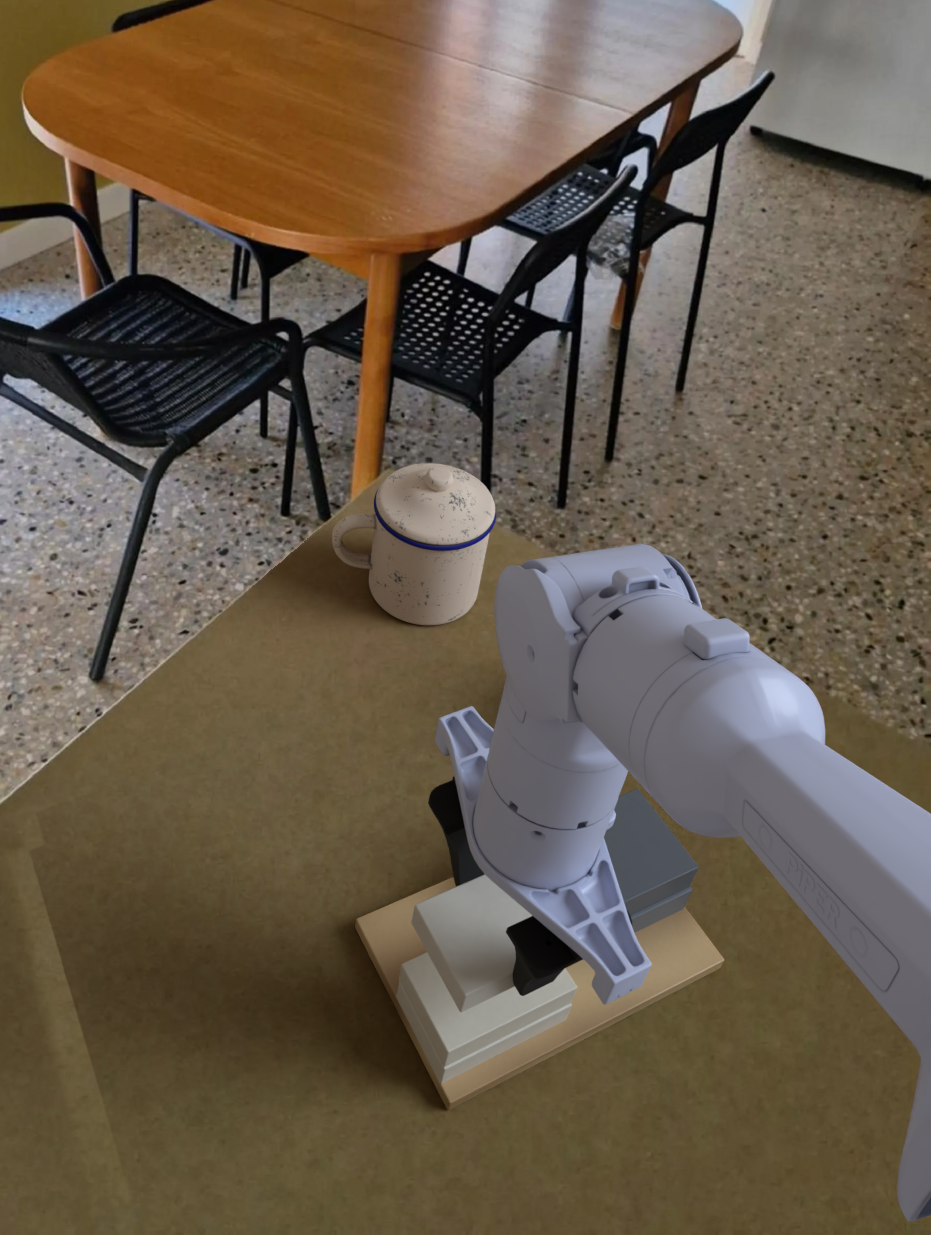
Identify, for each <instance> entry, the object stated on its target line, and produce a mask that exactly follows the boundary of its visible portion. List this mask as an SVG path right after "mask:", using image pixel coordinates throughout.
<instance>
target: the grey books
mask: <svg viewBox="0 0 931 1235" xmlns="http://www.w3.org/2000/svg"><path fill="white" fill-rule="evenodd" d="M614 811H615V813H616V817H615V821H614V823H613V826H612V827H610V828H609V829H607V830H606V833H605V835H604V840H605V843H606V846H607V849H608V853H609V856H610V859H611V862H612V865H613V869H614V872H615V875H616V878H617V881H618V884H619V888H620V891H621V894H622V897H623V900H624V904H625V907H626V909H627V910H628V912H629V914H630V916H631V919H632V928H633V931H634V933H635V932H637V931H639V930H641V929H643V928H645V927H647V926H649V925H652V924H654V923H656V922H658V921H660V920H662V919H664V918H666V917H668V916H670V915H672V914H674V913H676V912H678V911H680V910H682V909H684V907H685V908H686V905H687V902H688V900H689V898H690V896H691V894H692V892H693V888H692V886H691V885H692V883H693V881H694V879H695V876H696V874H697V873H698V870H699V868H700V866H699V865H698V863H697V862H696V861H695V860H694V858H693V857H692V856H691V854H690V853H689V852H688V850H687V849H686V848H685V847H684V845H683V844H682V842H680V840H679V839H678V838H677V837H676V835H675V834H674V832H673V831H672V830H671V828H669V826H668V824H666V823H665V821H664V820H663V819H662V817H661V816H660V815H659V813H658V812H657V811H656V810H655V808H654V807H653V806H652V805H651V803H650V802H649V801H648V799H647V798H646V797H645V795H643V793H642V792H641V790H640V789H639V788H635V789H632V790H630V791H628V792H626V793H623V794H620V795H619V797H618V801H617V803H616V806H615V809H614Z"/></svg>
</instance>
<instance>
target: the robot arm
mask: <svg viewBox="0 0 931 1235" xmlns="http://www.w3.org/2000/svg"><path fill="white" fill-rule="evenodd" d="M493 603H494V605H493V609H494V610H493V612H494V614H493V615H494V616H493V617H494V630H495V637H496V642H497V648H498V652H499V656H500V660H501V664H502V668H503V671H504V673H505V676H506V677H505V681H504V685H503V690H502V693H501V698H500V699H501V700H500V702H499V707H498V710H497V715H496V719H495V724H494V728H493V727H492V726H491V725H489V723H488V722H486V720H485V719H483V717H481V715H480V714H479V712H478V711H477V710H476V708H475V707H474V706H472V705H470V706H467V707H463V708H462V709H459V710H456V711H453V712H451V713H449V714H448V713H447V714H446V715H442V716H440V717H438V720H437V724H436V729H435V730H436V732H435V737H434V744H435V746H436V747H437V748H438V750H439V751H440V753H441V754H442V755H443V756H446V757H448V756H449V758H450V761H451V767H452V771H453V772H452V773H453V776H452V779H451V780H449V781H446V782H444V783H441V784H439V785H437V786H435V787H434V788H433V789H432V790H431V791H430V794H429V796H428V801H427V804H428V806H429V808H430V810H431V812H432V813H433V816H434V817H435V819H436V820H437V822H438V824H440V828H441V829H442V832H443V834H444V837H445V840H446V844H447V848H448V852H449V859H450V864H451V869H452V877H454V881H455V885H456V887H457V886H459V885H461V884H464V883H466V882H468V881H471V880H473V879H475V878H477V877H480V876H482V875H484V874H485V875H486V876H487V877H488V878H489V879H490V880H491V881H492V882H494V883H495V884H496V885H497V886H498V887H500V888H501V889H502V890H503V891H504V892H505V893H507V894H508V895H509V896H510V897H511V898H512V899H514V900H515V901H516V902H517V903H518V904H520V905H521V906H522V907H523V908H524V909H525V910H527V911H528V912H529V913H530V914H531V915H532V916H531V917H529V918H527V919H525V920H522V921H520V922H518V923H516V924H514V925H512V926H509V927H508V928H507V930H506V933H507V935H508V937H509V938H510V940H511V941H512V943H513V945H514V946H515V951H516V961H515V965H514V969H513V983H514V986H515V988H516V989H517V991H518V993H519V994H520V995H521V996H525V995H527V994H529V993H531V992H533V991H535V990H537V989H539V988H541V987H543V986H545V985H547V984H549V983H551V982H553V981H554V980H555V979H556V978H557V976H558V975H559V974H560V973H561V972H562V971H563V970H564V969H565V968H567V967H569V966H571V965H573V964H575V963H577V962H579V961H581V960H583V959H584V960H585V961H586V962H587V963H588V964H589V965H590V966H591V967H592V969H593V970H594V971H595V976H594V978H593V980H592V987H593V989H594V990H595V992H596V994H597V995H598V997H599V998H600V1000H601V1001H602V1003H603V1004H604V1005H606V1004H608V1003H610V1002H612V1001H614V1000H616V999H618V998H620V997H622V996H624V995H626V994H628V993H630V992H632V991H634V990H636V989H637V988H639V987H641V986H642V984H643V982H644V980H645V978H646V976H647V974H648V971H649V969H650V967H651V965H652V964H651V962H650V960H649V959H648V957H647V956H646V954H645V952H644V951H643V949H642V948H641V946H640V944H639V942H638V940H637V938H636V936H635V933H634V931H633V928H632V919H631V916H630V914H629V912H628V910H627V909H626V907H625V904H624V900H623V897H622V894H621V891H620V888H619V884H618V881H617V878H616V875H615V872H614V869H613V865H612V862H611V859H610V856H609V853H608V849H607V846H606V843H605V840H604V835H605V833H606V830H607V829H609V828H610V827H612V826H613V823H614V821H615V817H616V813H615V811H614V809H615V806H616V803H617V801H618V797H619V796H621V792H622V789H623V786H624V784H625V781H626V778H627V775H628V773H629V774H630V775H631V776H632V777H633V778H634V779H635V780H636V781H637V783H638V784H640V786H641V787H642V788H643V789H644V790H645V791H646V792H647V793H648V795H650V796H651V797H652V798H653V800H654V801H655V802H656V803H657V804H658V805H659V806H660V807H661V808H662V810H664V812H665V813H667V815H668V816H669V817H670V818H671V819H672V820H673V821H674V822H675V823H676V824H678V825H679V826H680V827H682V828H683V829H685V831H688V832H691V833H692V834H696V835H697V836H698V835H699V836H701V837H705V838H706V837H707V838H712V839H728V838H738V837H741V838H742V840H743V841H744V842H745V843H746V845H747V846H748V847H749V848H750V849H751V851H752V852H753V853H754V854H755V855H756V857H757V858H758V859H759V860H760V861H761V862H762V864H763V865H764V867H766V869H767V870H768V872H770V874H772V876H773V877H774V878H775V880H776V881H777V883H779V884H780V885H781V887H782V888H783V889H784V890H785V891H786V893H787V894H788V895H789V896H790V898H791V899H792V900H793V902H794V903H795V904H796V905H797V907H799V909H800V910H801V911H802V912H803V914H804V915H805V916H806V917H807V919H809V921H810V922H811V923H812V924H813V926H814V927H815V928H816V929H817V931H819V933H820V934H821V935H822V936H823V938H824V939H825V940H826V941H827V942H828V944H829V945H830V946H831V948H832V949H833V950H834V951H835V952H836V953H837V955H838V956H839V957H840V958H841V959H842V961H843V962H844V963H845V964H846V965H847V967H848V968H849V969H850V970H851V972H853V974H854V975H855V976H856V978H857V979H858V980H859V981H860V983H862V985H863V986H864V988H866V990H867V991H868V992H869V993H870V994H871V996H872V997H873V998H874V999H875V1000H876V1001H877V1003H878V1004H879V1005H880V1007H882V1009H883V1010H884V1011H885V1013H886V1014H887V1015H888V1016H889V1018H891V1020H892V1021H893V1022H894V1023H895V1024H896V1026H897V1027H898V1028H899V1029H900V1031H901V1032H902V1033H903V1034H904V1035H905V1037H906V1038H907V1040H909V1042H911V1044H912V1045H913V1047H914V1048H915V1050H916V1052H917V1053H918V1055H919V1058H920V1063H919V1069H918V1075H917V1080H916V1085H915V1091H914V1097H913V1102H912V1106H911V1112H910V1116H909V1120H908V1121H909V1122H908V1126H907V1130H906V1134H905V1139H904V1143H903V1148H902V1152H901V1157H900V1159H899V1160H900V1161H899V1166H898V1173H897V1183H896V1197H897V1201H898V1205H899V1208H900V1211H901V1212H902V1214H903V1216H904V1218H905V1220H906V1222H908V1223H911V1222H915V1221H918V1220H920V1219H924V1218H926V1217H929V1216H931V813H930V812H929V811H927V810H926V809H925V808H923V807H921V806H920V805H918V804H916V803H915V802H913V801H912V800H910V799H909V798H908V797H906V796H904V795H903V794H901V793H899V792H898V791H896V790H895V789H893V788H892V787H890V785H887V784H886V783H884V782H883V781H882V780H880V779H878V778H876V777H875V776H874V775H872V774H870V773H869V772H867V771H866V770H864V769H863V768H862V767H859V766H858V765H856V764H855V763H854V762H852V761H851V760H849V759H847V758H846V757H844V756H843V755H842V754H840V753H838V752H837V751H835V750H833V748H831V747H829V746H827V745H826V725H825V716H824V713H823V709H822V706H821V705H820V702H819V700H818V698H817V696H816V695H815V693H814V692H813V690H812V689H811V688H810V686H808V685H807V684H806V683H805V681H803V680H802V679H801V678H800V677H798V676H797V675H795V674H794V673H793V672H792V671H790V670H789V669H787V668H786V667H784V666H783V665H781V664H780V663H778V662H777V661H775V660H774V659H773V658H772V657H770V656H769V655H767V654H766V653H764V651H762V650H760V649H759V648H757V647H756V646H754V645H753V644H752V643H751V642H750V641H751V639H750V637H751V636H750V634H749V632H748V631H746V630H745V629H744V628H742V627H741V626H739V625H738V624H737V623H735V622H734V621H732V619H729V618H728V617H727V618H725V617H724V618H716V617H714V615H711V614H710V613H708V612H707V611H706V610H705V609H704V608H703V606H702V603H701V599H700V596H699V593H698V590H697V588H696V585H695V583H694V581H693V579H692V577H691V576H690V574H689V573H688V572H687V570H686V568H685V567H684V566H683V565H682V563H680V562H679V561H678V560H677V559H676V558H674V557H673V556H671V555H669V554H667V553H661V552H660V551H659V550H658V549H657V548H655V547H653V546H652V545H650V544H646V543H636V544H630V545H623V546H616V547H608V548H602V549H595V550H587V551H581V552H575V553H568V554H562V555H554V556H548V557H540V558H534V559H533V558H532V559H528V560H526V561H523V562H522V564H520V565H518V564H509V565H507V566H506V567H504V569H503V570H502V571H501V573H500V575H499V577H498V580H497V582H496V587H495V593H494V602H493ZM929 1235H931V1233H930V1234H929Z"/></svg>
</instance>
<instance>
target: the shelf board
mask: <svg viewBox="0 0 931 1235" xmlns="http://www.w3.org/2000/svg"><path fill="white" fill-rule="evenodd" d="M454 887H456V885H455V881H454V876H452V877H450V878H447V879H445V880H442V881H441V882H437V883H436V884H433V885H432V886H429V887H427V888H424V889H422V890H420V891H417V892H415V893H413V894H411V895H408V896H405V897H403V898H401V899H399V900H397V901H394V902H392V903H390V904H387V905H384V906H383V907H380V908H378V909H376V910H373V911H371V912H368V913H367V914H364V915H362V916H360V917H357V918H356V919H355V925H354V928H355V930H356V933H357V934H358V936H359V938H360V940H361V943H362V944H363V946H364V948H365V950H366V953H367V954H368V956H369V959H370V960H371V962H372V964H373V966H374V968H375V970H376V972H377V974H378V976H379V978H380V980H381V982H382V984H383V985H384V988H385V990H386V992H387V994H388V996H389V997H390V999H391V1001H392V1003H393V1006H394V1007H395V1009H396V1011H397V1013H398V1016H399V1018H400V1020H401V1021H402V1024H403V1026H404V1027H405V1030H406V1032H407V1033H408V1036H409V1037H410V1040H411V1041H412V1043H413V1045H414V1047H415V1049H416V1051H417V1053H418V1055H419V1057H420V1059H421V1061H422V1063H423V1065H424V1067H425V1069H426V1071H427V1072H428V1075H429V1077H430V1079H431V1081H432V1082H433V1084H434V1087H435V1089H436V1090H437V1091H436V1092H438V1095H439V1097H440V1099H441V1100H442V1102H443V1105H444V1106H445V1108H446V1110H447V1111H451V1110H452V1109H454V1108H456V1107H458V1106H460V1105H463V1104H464V1103H466V1102H468V1101H469V1100H472V1099H474V1098H475V1097H477V1096H479V1095H481V1094H482V1093H485V1092H487V1091H489V1090H490V1089H492V1088H494V1087H496V1086H498V1085H500V1084H503V1083H504V1082H506V1081H508V1080H509V1079H511V1078H513V1077H515V1076H518V1075H519V1074H521V1073H524V1072H525V1071H526V1070H529V1069H531V1068H533V1067H534V1066H536V1065H538V1064H540V1063H542V1062H544V1061H546V1060H547V1059H550V1058H552V1057H554V1056H556V1055H557V1054H559V1053H561V1052H563V1051H565V1050H567V1049H569V1048H570V1047H572V1046H574V1045H576V1044H578V1043H580V1042H582V1041H584V1040H587V1039H588V1038H590V1037H591V1036H593V1035H595V1034H597V1033H599V1032H601V1031H603V1030H605V1029H607V1028H609V1027H611V1026H613V1025H614V1024H616V1023H618V1022H620V1021H622V1020H624V1019H627V1018H628V1017H630V1016H632V1015H634V1014H636V1013H638V1012H639V1011H642V1010H643V1009H645V1008H647V1007H649V1006H651V1005H653V1004H655V1003H656V1002H659V1001H661V1000H662V999H664V998H666V997H669V996H671V995H672V994H673V993H676V992H678V991H680V990H681V989H683V988H685V987H687V986H689V985H691V984H692V983H694V982H695V983H696V981H698V980H700V979H702V978H704V977H706V976H708V975H710V974H712V973H713V972H715V971H718V970H719V969H721V968H722V966H723V964H724V962H725V958H724V957H723V956H722V954H721V953H720V952H719V950H718V949H717V948H716V946H715V945H714V943H713V942H712V941H711V939H710V938H709V937H708V936H707V934H706V933H705V932H704V930H703V928H702V927H701V926H700V925H699V923H698V922H697V921H696V920H695V918H694V917H693V916H692V914H691V913H690V911H689V910H688V908H686V906H685V907H684V909H682V910H680V911H678V912H676V913H674V914H672V915H670V916H668V917H666V918H664V919H662V920H660V921H658V922H656V923H654V924H652V925H649V926H647V927H645V928H643V929H641V930H639V931H637V932H635V936H636V938H637V940H638V942H639V944H640V946H641V948H642V949H643V951H644V952H645V954H646V956H647V957H648V959H649V960H650V962H651V964H652V965H651V967H650V969H649V971H648V974H647V976H646V978H645V980H644V982H643V984H642V986H641V987H639V988H637V989H636V990H634V991H632V992H630V993H628V994H626V995H624V996H622V997H620V998H618V999H616V1000H614V1001H612V1002H610V1003H608V1004H606V1005H604V1004H603V1003H602V1001H601V1000H600V998H599V997H598V995H597V994H596V992H595V990H594V989H593V987H592V980H593V978H594V976H595V971H594V970H593V969H592V967H591V966H590V965H589V964H588V963H587V962H586V961H585V960H584V959H583V960H581V961H579V962H577V963H575V964H573V965H571V966H569V967H567V968H565V969H566V970H567V972H568V973H569V975H570V976H571V978H572V980H573V981H574V983H575V984H576V986H577V990H576V992H575V994H574V997H573V999H572V1002H571V1004H572V1006H571V1009H570V1011H569V1014H568V1016H567V1019H566V1020H565V1021H563V1022H561V1023H559V1024H557V1025H555V1026H553V1027H551V1028H549V1029H548V1030H546V1031H544V1032H542V1033H540V1034H538V1035H536V1036H534V1037H532V1038H530V1039H528V1040H526V1041H524V1042H522V1043H520V1044H518V1045H516V1046H514V1047H512V1048H510V1049H508V1050H506V1051H505V1052H503V1053H501V1054H499V1055H497V1056H495V1057H493V1058H491V1059H489V1060H487V1061H485V1062H483V1063H481V1064H479V1065H477V1066H475V1067H473V1068H471V1069H469V1070H467V1071H465V1072H464V1073H462V1074H460V1075H458V1076H456V1077H454V1078H452V1079H450V1080H448V1081H446V1082H444V1083H442V1084H440V1082H439V1080H438V1078H437V1076H436V1074H435V1073H434V1071H433V1069H432V1067H431V1065H430V1063H429V1061H428V1059H427V1057H426V1055H425V1053H424V1051H423V1049H422V1047H421V1045H420V1043H419V1041H418V1039H417V1037H416V1035H415V1033H414V1031H413V1029H412V1027H411V1025H410V1023H409V1021H408V1020H407V1018H406V1016H405V1014H404V1012H403V1010H402V1008H401V1006H400V1004H399V1002H398V1000H397V998H396V995H397V990H398V985H399V975H400V970H401V965H402V964H403V963H405V962H407V961H409V960H411V959H413V958H416V957H418V956H420V955H422V954H424V953H427V951H426V949H425V947H424V945H423V943H422V942H421V940H420V938H419V936H418V934H417V932H416V931H415V929H414V927H413V925H412V923H411V922H412V917H413V911H414V906H415V905H416V904H418V903H420V902H422V901H425V900H427V899H429V898H432V897H434V896H436V895H438V894H441V893H443V892H445V891H448V890H450V889H452V888H454Z"/></svg>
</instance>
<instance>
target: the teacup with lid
mask: <svg viewBox="0 0 931 1235" xmlns="http://www.w3.org/2000/svg"><path fill="white" fill-rule="evenodd" d="M496 507H497V506H496V504H495V500H494V498H493V496H492V494H491V491H490V490H489V489H488V487H487V486H486V485H485V484H484V483H483V482H482V481H481V480H479V479H478V478H477V477H475V476H474V475H472V474H471V473H469V472H468V471H465V470H463V469H461V468H458V467H455V466H453V465H448V464H443V463H433V462H424V463H422V462H421V463H415V464H410V465H407V466H404V467H400V468H399V469H396V470H395V471H393V472H391V473H390V474H389V475H388V476H386V477H385V478H384V479H383V480H382V482H381V483H380V484H379V486H378V488H377V489H376V492H375V494H374V498H373V511H374V513H353V514H349V515H347V516H345V517H343V518H341V519H340V520H339V521H337V522H336V524H335V525H334V527H333V528H332V532H331V543H332V548H333V551H334V553H335V554H336V556H337V557H338V558H339V559H340V561H342V562H343V563H344V564H346V565H348V566H350V567H353V568H357V569H364V570H365V569H366V570H369V572H368V573H369V574H368V587H369V590H370V593H371V595H372V597H373V599H374V600H375V602H376V603H377V604H378V605H379V607H381V609H383V610H384V611H385V612H386V613H388V614H389V615H391V616H392V617H395V618H396V619H398V620H401V621H403V622H406V623H410V624H413V625H420V626H439V625H440V626H441V625H444V624H448V623H451V622H454V621H456V620H458V619H460V618H462V617H464V616H465V615H466V614H467V613H468V612H469V611H470V610H471V609H472V608H473V606H474V604H475V603H476V600H477V598H478V595H479V590H480V584H481V579H482V574H483V568H484V565H485V559H486V554H487V549H488V545H489V544H488V543H489V540H490V534H491V532H492V530H493V528H494V526H495V523H496V520H497V508H496ZM358 529H370V530H371V529H373V535H372V544H371V554H367V553H359V552H355V551H353V550H351V549H349V548H348V547H347V546H346V545H345V544H344V542H343V541H342V540H343V539H342V538H343V537H344V535H346V534H347V533H349V532H350V531H352V530H358Z"/></svg>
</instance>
